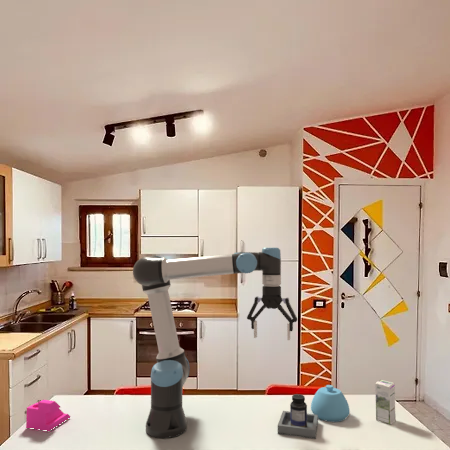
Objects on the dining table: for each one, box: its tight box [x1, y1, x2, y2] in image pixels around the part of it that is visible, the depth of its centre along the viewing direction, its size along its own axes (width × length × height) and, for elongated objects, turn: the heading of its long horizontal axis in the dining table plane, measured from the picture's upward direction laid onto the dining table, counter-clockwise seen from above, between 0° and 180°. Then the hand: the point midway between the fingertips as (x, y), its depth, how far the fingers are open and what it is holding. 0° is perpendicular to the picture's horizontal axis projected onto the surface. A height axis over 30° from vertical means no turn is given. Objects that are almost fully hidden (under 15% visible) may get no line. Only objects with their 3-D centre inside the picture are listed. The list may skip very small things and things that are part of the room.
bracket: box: [25, 399, 71, 432], centre depth 152 cm, size 12×10×10 cm
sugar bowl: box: [310, 384, 351, 423], centre depth 160 cm, size 15×15×12 cm
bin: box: [277, 410, 319, 440], centre depth 148 cm, size 13×13×3 cm
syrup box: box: [374, 379, 396, 425], centre depth 155 cm, size 6×6×14 cm
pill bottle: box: [289, 393, 308, 427], centre depth 148 cm, size 6×6×11 cm
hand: (272, 338), depth 160 cm, fingers open, 13 cm apart
